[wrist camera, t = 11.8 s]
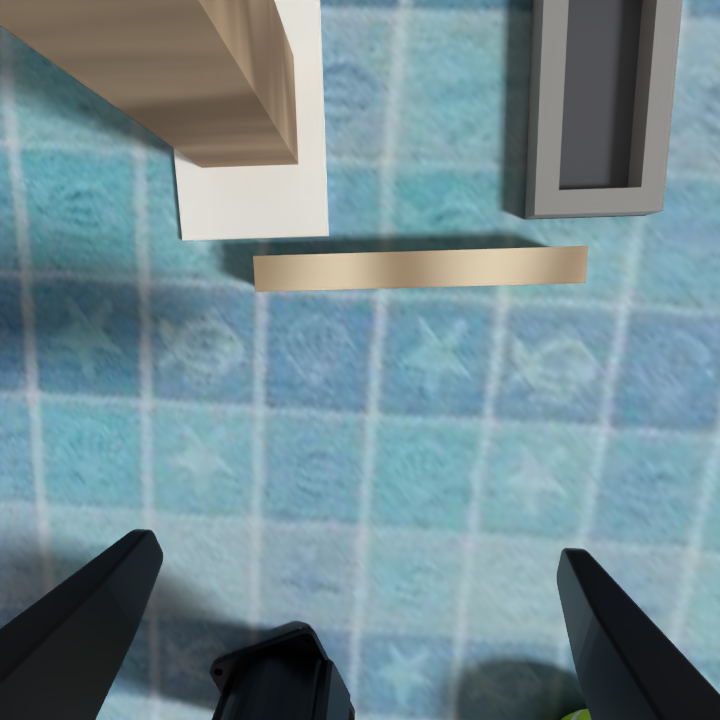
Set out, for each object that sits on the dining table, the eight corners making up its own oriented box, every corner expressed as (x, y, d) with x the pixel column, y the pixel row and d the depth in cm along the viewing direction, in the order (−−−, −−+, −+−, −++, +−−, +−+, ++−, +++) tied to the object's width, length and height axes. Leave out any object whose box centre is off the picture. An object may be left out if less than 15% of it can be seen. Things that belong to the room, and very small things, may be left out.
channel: (580, -110, 17) (615, -177, 15) (559, 283, 20) (585, 282, 17) (246, -89, 18) (225, -150, 15) (269, 291, 20) (255, 291, 18)
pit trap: (666, -32, 17) (687, -55, 16) (645, 215, 19) (663, 210, 18) (534, -25, 18) (545, -47, 16) (524, 219, 19) (534, 214, 18)
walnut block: (298, 164, 19) (97, -166, 5) (202, 167, 19) (-239, -143, 5) (293, 55, 18) (43, -667, 4) (193, 60, 18) (-348, -622, 5)
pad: (318, -26, 18) (318, -32, 18) (328, 236, 20) (328, 235, 19) (160, -17, 18) (157, -23, 18) (185, 241, 20) (182, 240, 20)
